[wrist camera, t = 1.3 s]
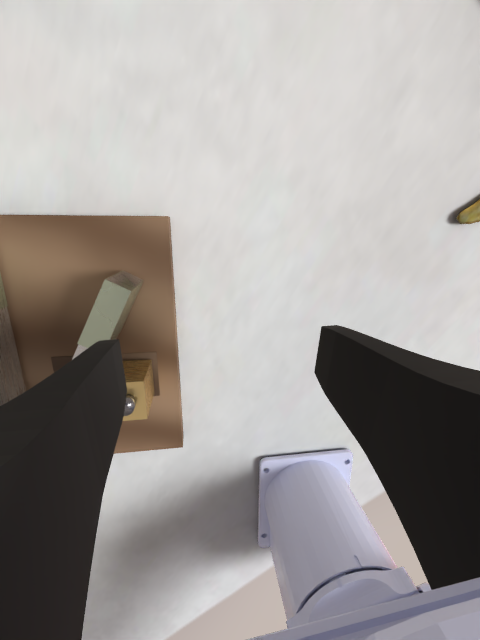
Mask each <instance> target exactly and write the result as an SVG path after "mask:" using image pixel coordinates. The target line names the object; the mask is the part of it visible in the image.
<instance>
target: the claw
mask: <svg viewBox="0 0 480 640" xmlns="http://www.w3.org/2000/svg"><path fill="white" fill-rule="evenodd" d="M456 219H457V220H458V221H459V223H460V224H471V223H475V222H479V221H480V199H479V200H478V201H477V202H476V203H474V204H473V205H471V206H470V207H468V208H466V209H465V210H463V211H462V212H460V213H459V215H458V216H457V218H456Z"/></svg>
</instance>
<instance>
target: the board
mask: <svg viewBox="0 0 480 640" xmlns="http://www.w3.org/2000/svg"><path fill="white" fill-rule="evenodd" d="M122 270H123V271H125V272H128V273H130V274H132V275H134V276H136V277H138V278H140V279H142V280H144V281H143V283H142V286H141V288H140V290H139V292H138V294H137V297H136V299H135V301H134V303H133V305H132V307H131V310H130V312H129V314H128V316H127V318H126V321H125V323H124V325H123V327H122V329H121V332H120V333H119V334H118V336H117V338H116V339H119V342H120V348H121V354H122V361H132V360H152V371H153V382H154V396H153V400H152V403H151V407H150V411H149V415H148V418H147V419H142V420H129V421H122V425H121V428H120V432H119V436H118V439H117V443H116V447H115V450H114V454H115V453H125V452H136V451H147V450H158V449H169V448H179V447H183V422H182V406H181V390H180V374H179V357H178V341H177V325H176V309H175V292H174V276H173V260H172V244H171V227H170V217H168V216H67V215H0V273H1V277H2V282H3V286H4V291H5V295H6V300H7V304H8V306H7V308H8V313H9V317H10V322H11V326H12V331H13V335H14V340H15V344H16V348H17V353H18V357H19V362H20V366H21V371H22V375H23V380H24V384H25V388H26V391H27V390H29V389H30V388H32V387H33V386H35V385H36V384H38V383H39V382H41V381H42V380H44V379H45V378H47V377H48V376H50V375H51V374H53V373H54V372H56V371H57V370H59V369H60V368H62V367H63V366H64V365H66V364H67V363H69V362H70V361H71V360H72V358H73V356H74V354H75V351H76V349H77V347H78V344H77V343H78V341H79V338H80V336H81V334H82V331H83V329H84V327H85V324H86V322H87V320H88V317H89V315H90V313H91V310H92V308H93V306H94V303H95V301H96V299H97V296H98V294H99V292H100V289H101V287H102V285H103V282H104V280H105V279H106V278H108V277H110V276H112V275H114V274H116V273H118V272H120V271H122Z"/></svg>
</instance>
